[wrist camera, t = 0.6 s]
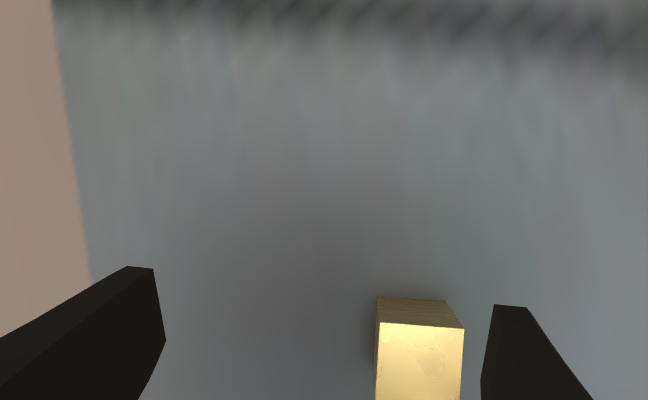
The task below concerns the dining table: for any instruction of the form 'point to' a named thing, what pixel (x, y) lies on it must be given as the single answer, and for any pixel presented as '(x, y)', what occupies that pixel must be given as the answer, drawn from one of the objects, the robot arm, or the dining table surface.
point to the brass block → (416, 350)
